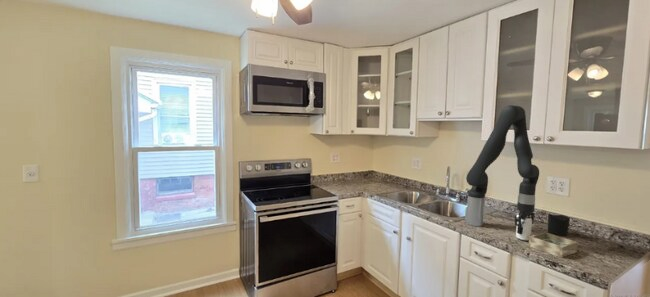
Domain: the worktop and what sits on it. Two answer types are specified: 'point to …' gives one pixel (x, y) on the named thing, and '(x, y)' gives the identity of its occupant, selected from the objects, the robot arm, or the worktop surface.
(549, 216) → the pen holder
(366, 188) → the worktop surface
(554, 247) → the bore box
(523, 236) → the can
